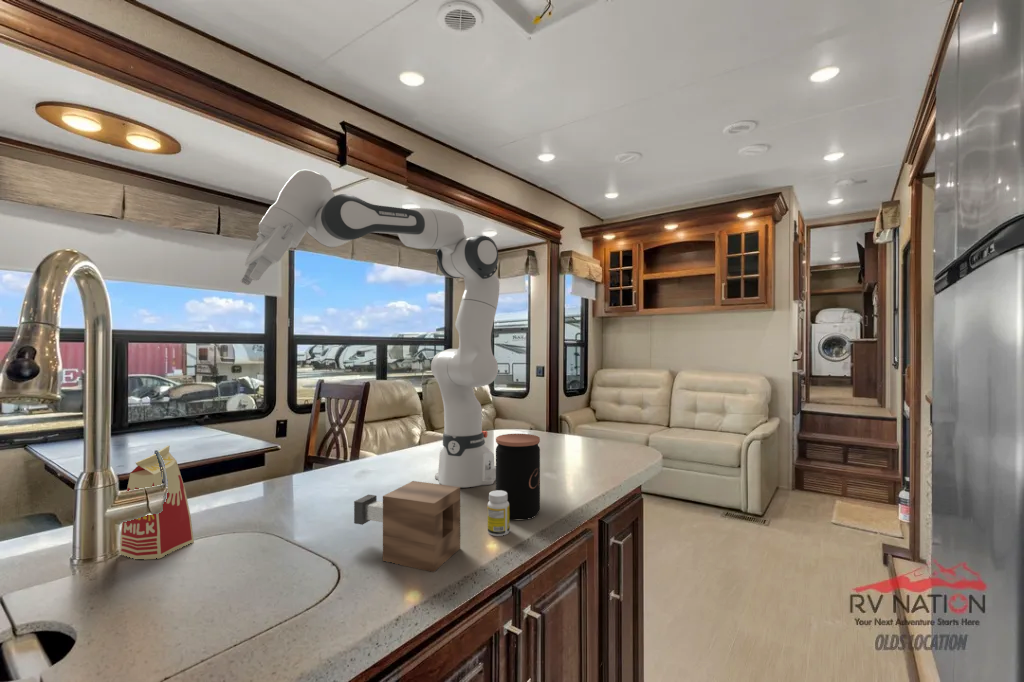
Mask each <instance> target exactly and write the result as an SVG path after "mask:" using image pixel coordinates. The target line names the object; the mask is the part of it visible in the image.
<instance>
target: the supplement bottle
mask: <svg viewBox="0 0 1024 682" xmlns="http://www.w3.org/2000/svg"><path fill="white" fill-rule="evenodd" d="M507 499H508V497H507V492H505V491H501V490H496V489H495V490H492V491H490V492H489V493H488V500H489V501H487V505H486V506H487V510H486V511H487V533H488V534H489V535H491V536H494V537H504V536H506V535H508V534H509V533H510V527H511V526H510V522H511V521H510V519H509V502H508V501H507ZM503 535H504V536H503Z"/></svg>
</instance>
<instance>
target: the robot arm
mask: <svg viewBox="0 0 1024 682" xmlns="http://www.w3.org/2000/svg"><path fill="white" fill-rule="evenodd" d="M306 233H308V235H309V236H311V237H312V238H313V239H314V240H316V242H318V243H319V244H321V245H322V246H325V247H327V248H337V247H341V246H343V245H345V244H347V243H349V242H352V241H353V240H357V239H360V238H363V237H364V236H366V235H367V234H371V233H377V234H378V233H379V234H390V235H391V234H393V235H397V236H398V238H399V240H400V242H401V243H402V244H403V245H404V246H405V247H408V248H413V249H420V250H435V255H436V262H437V266H438V268H439V270H440V272H441V273H442V275H444V276H445V277H449V278H451V279H460V278H463V281H464V291H463V293H462V297H461V300H460V304H459V309H458V312H457V316H456V319H455V322H454V323H455V325H454V326H455V329H456V331H457V333H458V339H459V340H458V341H459V342H458V343H459V344H458V348H448V349H445V350H441V351H439V352H438V353H436V354H435V355H434V356H433V358H432V360H431V362H430V363H431V364H430V370H431V373H432V375H433V377H434V378H435V379H436V382H437V384H438V387H439V390H440V395H441V399H442V403H443V419H444V422H443V423H444V426H443V427H444V431H443V433H442V446H443V448H442V449H440V451H439V458H438V469H437V470H438V472H437V473H435V474H434V479H436V480H437V481H438V484H441V485H449V486H457V487H460V488H470V487H471V488H472V487H478V486H487V485H488V486H489V485H493V484H494V483H495V482H496V465H495V454H494V452H493V451H492V450H490V448H489V447H488V446H487V445H486V441H485V439H487V438H488V431H487V430H483V429H482V428H483V423H482V421H483V419H482V418H483V407H482V405H481V402H480V401H479V400H478V399H477V397H476V394H475V392H474V388H479V387H485V386H488V385H491V384H492V383H493V382H494V381H495V380H496V378H497V376H498V372H499V366H498V360H497V359H496V357H495V356H494V354H493V350H492V341H491V340H492V331H493V325H494V321H495V317H496V312H497V308H498V303H499V297H500V284H501V283H500V279H499V278H498V276H497V275H496V274H495V273H496V272H497V270H498V262H499V251H498V246H497V245H496V243H495V241H494V240H493V238H491V237H489V236H487V235H486V236H485V235H473V236H469V237H467V236H466V235H465V227H464V223H463V220H462V219H461V218H460V216H459V215H457V214H456V213H454V212H450V211H447V210H441V209H438V208H437V209H436V208H427V207H426V208H425V207H423V208H422V207H414V208H402V207H393V206H387V205H379V204H377V205H376V204H373V203H370V202H367V201H365V200H363V199H361V198H359V197H357V196H355V195H351V194H349V193H348V194H347V193H342V194H341V193H340V194H337V195H335V192H334V191H333V189H332V184H331V182H330V180H329V179H328V178H327V177H326V176H324V175H322V173H319V172H317V171H314V170H310V169H301V170H298V171H296V172H295V173H294V174H293V175H292V176H291V177H290V178H289V179H288V181H287V182H286V183H285V184H284V186H283V187H282V188H281V190H280V192H279V193H278V196H277V199H276V201H275V202H274V203H273V204H272V205H271V206H269V208H268V210H267V211H266V213H265V214H264V216H263V217H262V219H261V220H260V222H259V223H258V230H257V232H256V236H257V238H256V239H255V240H254V241H255V242H254V243H253V245H252V247H251V249H250V251H249V253H248V255H247V257H246V258H245V262H244V266H245V267H247V268H246V270H245V272H244V274H243V276H242V278H241V280H240V282H241V284H242V285H245V286H249V285H251V283H252V282H253V281H254V282H257V281H259V280H261V277H263V275H264V274H265V272H266V271H267V270H268V269H269V268H270V267H272V266H273V265H275V264H277V263H279V262H280V261H281V260H282V258H283V257H284V255H285V254H286V252H287V251H289V249H297V247H298V246H299V244H300V243H301V241H302V239H303V238H304V237H305V235H306Z"/></svg>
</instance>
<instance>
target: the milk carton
mask: <svg viewBox="0 0 1024 682" xmlns="http://www.w3.org/2000/svg"><path fill="white" fill-rule="evenodd" d="M157 452H159V453H160V455H161V456H162V458H163V460H164V463H165V468H166V472H167V479H168V493H167V499H166V502H164V504H163V511H162V512H161V513H159V514H153V515H147V516H144V517H141V518H138V519H134V520H131V521H127V522H123V523H122V522H121V527H120V538H119V539H120V543H119V545H120V546H119V555H120V554H122V555H121V556H123V555H124V556H123V557H126V556H127V557H126V558H129V557H130V558H129V559H132V558H134V559H133V560H135V559H144V560H155V559H156V558H157V559H162V558H164V557H166V556H167V554H168V555H169V554H171V553H173V552H175V550H176V551H177V549H178V550H180V549H182V547H183V546H185V547H187V546H189V545H188V544H190V543H192V544H194V543H195V539H194V531H193V524H192V517H191V516H192V515H191V511H190V506H189V500H188V497H187V492H186V487H185V484H184V481H183V478H182V475H181V471H180V468H179V465H178V462H177V459H176V458H175V457H174V456H173V455H172V454H171V453H170V445H166V446H164V447H163V448H162V449H160V450H159V451H157ZM135 465H136V467H135V468H134V469H133V470H132V471H131V472H130V474H129V479H128V482H127V483H128V484H127V488H126V492H127V491H129V490H134V489H139V488H145V487H152V486H157V485H161V484H163V483H162V479H163V472H162V477H161V471H160V467H159V463H158V459H157V456H156V454H155V453H154V454H152V455H150V456H148V457H146V458H143V459H141V460H138V461H136V462H135ZM163 468H164V467H163ZM161 469H162V467H161ZM162 471H163V470H162ZM193 542H194V543H193ZM186 545H187V546H186ZM190 545H191V544H190ZM179 548H180V549H179ZM183 548H184V547H183ZM172 551H173V552H172ZM165 555H166V556H165Z"/></svg>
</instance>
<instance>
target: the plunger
mask: <svg viewBox="0 0 1024 682" xmlns="http://www.w3.org/2000/svg"><path fill="white" fill-rule="evenodd" d="M353 505H354V506H353V518H354V519H353V523H354V524H355V525H356V524H357V525H360V526H361V525H362V526H363V525H364V524H366V523H368V522H370V521H374V522H378V523H383V501H378V500H377V495H374V494H367V495H365V496H363V497H360V498H358V499H356V500H354V501H353Z"/></svg>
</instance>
